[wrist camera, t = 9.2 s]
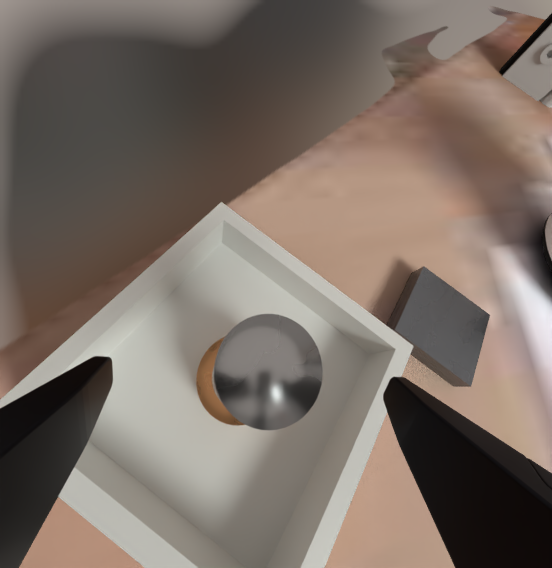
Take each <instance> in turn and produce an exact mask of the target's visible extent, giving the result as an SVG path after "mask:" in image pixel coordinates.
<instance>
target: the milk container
mask: <svg viewBox="0 0 552 568" xmlns="http://www.w3.org/2000/svg"><path fill="white" fill-rule="evenodd" d="M542 243H543V248H544V257H545V259H546V261H547V263H548V265H549V268H550V270H551V273H552V214H551V215H550V216H549V217H548V218H547V220H546V222H545V225H544V229H543V234H542Z"/></svg>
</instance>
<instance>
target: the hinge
mask: <svg viewBox="0 0 552 568" xmlns="http://www.w3.org/2000/svg"><path fill="white" fill-rule="evenodd" d="M500 73H501V74H503V76H502V77H504V78H505V79H507V80H508V81H509V82H511V83H512V84H514V85H515V86H517V87H518V88H520V89H521V90H522V91H524V92H525V93H527V94H528V95H530V96H531V97H532V98H534V99H535V100H537V101H539V100H540V101H541V102H542V103H543V104H544V105H546V106H547V107H551V108H552V14H551V15H550V16H549V17H548V18H547V19H546V20H545V21H544V22H543V23H542V24H541V25H540V27H539V28H538V29H537V30H536V31H535V32H534V33H533V34H532V35H531V36H530V37H529V38H528V40H527V41H526V42H525V43H524V44H523V45H522V46H521V47H520V48H519V49H518V50H517V52H516V53H515V54H514V55H513V56H512V57H511V58H510V59H509V60H508V61H507V62H506V64H505V65H504V66H503V67H502V68H501V70H500Z"/></svg>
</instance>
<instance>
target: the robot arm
mask: <svg viewBox="0 0 552 568" xmlns="http://www.w3.org/2000/svg"><path fill="white" fill-rule="evenodd" d="M112 383H113V366H112V359H111V358H110V357H106V356H94V357H92V358H90V359H88V360H86V361H84V362H83V363H81V364H79V365H77V366H75V367H74V368H72V369H70V370H68V371H66V372H65V373H63V374H61V375H59V376H57V377H56V378H54V379H52V380H50V381H48V382H47V383H45V384H43V385H41V386H39V387H38V388H36V389H34V390H32V391H30V392H29V393H27V394H25V395H23V396H21V397H20V398H18V399H16V400H14V401H12V402H11V403H9V404H7V405H5V406H3V407H2V408H0V568H19V566H20V565H21V563H22V561H23V559H24V557H25V556H26V554H27V552H28V550H29V548H30V546H31V545H32V543H33V541H34V539H35V537H36V536H37V534H38V532H39V530H40V528H41V527H42V525H43V523H44V521H45V519H46V518H47V516H48V514H49V512H50V510H51V508H52V507H53V505H54V503H55V501H56V499H57V498H58V496H59V494H60V492H61V490H62V489H63V487H64V485H65V483H66V481H67V480H68V478H69V476H70V474H71V472H72V470H73V469H74V467H75V465H76V463H77V461H78V460H79V458H80V456H81V454H82V452H83V450H84V449H85V447H86V445H87V443H88V441H89V438H90V436H91V434H92V432H93V429H94V427H95V425H96V422H97V420H98V418H99V415H100V413H101V411H102V408H103V406H104V404H105V401H106V399H107V397H108V394H109V392H110V390H111V387H112ZM383 401H384V404H385V407H386V409H387V412H388V415H389V418H390V421H391V423H392V426H393V429H394V432H395V434H396V437H397V440H398V442H399V445H400V447H401V450H402V452H403V454H404V457H405V459H406V461H407V463H408V465H409V468H410V470H411V472H412V474H413V476H414V478H415V481H416V483H417V485H418V487H419V489H420V492H421V494H422V496H423V498H424V500H425V502H426V505H427V507H428V509H429V511H430V513H431V516H432V518H433V520H434V522H435V524H436V527H437V529H438V531H439V533H440V535H441V537H442V540H443V542H444V544H445V546H446V548H447V551H448V553H449V555H450V557H451V559H452V562H453V564H454V566H455V568H552V473H550V472H549V471H547V470H546V469H544V468H543V467H541V466H539V465H538V464H536V463H535V462H533V461H532V460H530V459H528V458H526V457H525V456H524V455H523V454H521V453H519V452H518V451H516V450H515V449H513V448H512V447H510V446H509V445H507V444H506V443H504V442H503V441H501V440H499V439H498V438H496V437H495V436H493V435H492V434H490V433H489V432H487V431H486V430H484V429H483V428H481V427H480V426H478V425H476V424H475V423H473V422H472V421H470V420H469V419H467V418H466V417H464V416H463V415H461V414H460V413H458V412H456V411H455V410H453V409H452V408H450V407H449V406H447V405H446V404H444V403H443V402H441V401H440V400H438V399H437V398H435V397H433V396H432V395H430V394H429V393H427V392H426V391H424V390H423V389H421V388H420V387H418V386H417V385H415V384H413V383H412V382H410V381H409V380H407V379H406V378H404V377H392V378H391V379H390V380H389V383H388V385H387V387H386V389H385V391H384V394H383Z"/></svg>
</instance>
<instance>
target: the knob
mask: <svg viewBox="0 0 552 568" xmlns="http://www.w3.org/2000/svg"><path fill="white" fill-rule="evenodd" d="M322 377H323V368H322V361H321V356H320V353H319V350H318V348H317V345H316V343H315V342H314V340H313V338H312V337H311V336H310V334H309V333H308V332H307V331H306V330H305V329H304V328H303V327H302V326H301V325H300V324H298V323H297V322H295V321H293V320H292V319H290V318H287V317H285V316H281V315H276V314H259V315H255V316H252V317H249V318H247V319H245V320H243V321H241V322H240V323H238V324H237V325H236V326H235V327H233V328H232V329H231V330H230V331H229V333H228V334H227V335H226V336H225V337H223V338H221V339H219V340H218V341H216V342H215V343H214V344H213V345H212V346H211V347H210V348H209V349H208V350H207V351H206V352H205V354H204V356H203V357H202V359H201V361H200V364H199V367H198V371H197V377H196V386H197V392H198V396H199V399H200V401H201V403H202V405H203V406H204V408H205V409H206V411H207V412H208V413H209V414H210V415H211V416H213V417H214V418H215V419H217V420H218V421H220V422H223V423H225V424H229V425H237V426H239V425H247V426H249V427H252V428H255V429H259V430H278V429H282V428H286V427H288V426H290V425H292V424H294V423H296V422H298V421H299V420H300V419H301V418H303V417H304V416H305V415H306V414H307V413H308V412H309V410H310V409H311V408H312V406H313V405H314V403H315V401H316V399H317V397H318V394H319V392H320V388H321V384H322Z"/></svg>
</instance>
